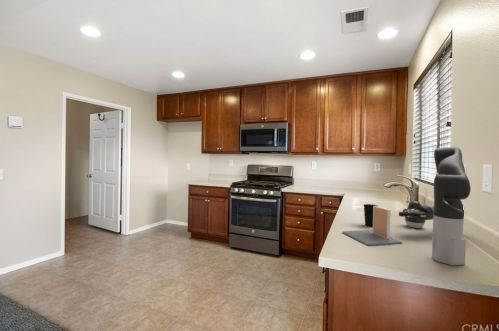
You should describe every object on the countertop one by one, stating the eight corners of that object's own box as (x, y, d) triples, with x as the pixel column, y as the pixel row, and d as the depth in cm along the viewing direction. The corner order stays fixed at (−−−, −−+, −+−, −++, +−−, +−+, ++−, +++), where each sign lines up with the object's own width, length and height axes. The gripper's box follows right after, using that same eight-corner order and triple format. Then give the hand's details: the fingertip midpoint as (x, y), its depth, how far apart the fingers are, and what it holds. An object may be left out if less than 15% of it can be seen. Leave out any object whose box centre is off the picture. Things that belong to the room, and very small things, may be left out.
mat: (402, 243, 117) (402, 241, 117) (368, 246, 113) (368, 244, 113) (372, 231, 136) (372, 229, 136) (342, 232, 132) (342, 231, 132)
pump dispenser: (400, 225, 149) (400, 200, 148) (411, 224, 153) (412, 199, 153) (417, 230, 139) (418, 203, 139) (429, 228, 144) (430, 201, 143)
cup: (362, 226, 146) (363, 205, 146) (363, 223, 153) (364, 203, 152) (377, 228, 142) (378, 207, 142) (377, 225, 149) (378, 205, 149)
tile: (389, 238, 121) (390, 209, 121) (387, 238, 121) (387, 209, 120) (374, 232, 131) (375, 205, 130) (372, 232, 130) (373, 205, 130)
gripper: (416, 203, 138) (390, 204, 135) (440, 208, 126) (411, 209, 122) (416, 216, 139) (389, 218, 135) (439, 223, 126) (410, 225, 122)
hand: (400, 214), depth 128 cm, fingers closed
